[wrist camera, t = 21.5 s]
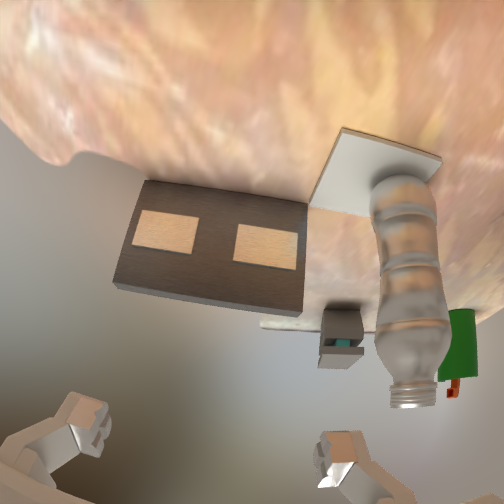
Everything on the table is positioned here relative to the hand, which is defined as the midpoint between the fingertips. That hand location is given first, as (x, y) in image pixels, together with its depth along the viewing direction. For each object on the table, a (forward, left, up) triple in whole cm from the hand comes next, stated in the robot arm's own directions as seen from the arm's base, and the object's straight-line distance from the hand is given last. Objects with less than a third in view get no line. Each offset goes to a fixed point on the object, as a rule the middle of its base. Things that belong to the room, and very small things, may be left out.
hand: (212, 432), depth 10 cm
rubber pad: (+10, +12, -22) cm, 27 cm away
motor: (+47, +53, -22) cm, 74 cm away
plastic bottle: (+9, +14, -21) cm, 27 cm away
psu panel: (+17, -2, -22) cm, 28 cm away
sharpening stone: (+57, +26, -22) cm, 66 cm away
